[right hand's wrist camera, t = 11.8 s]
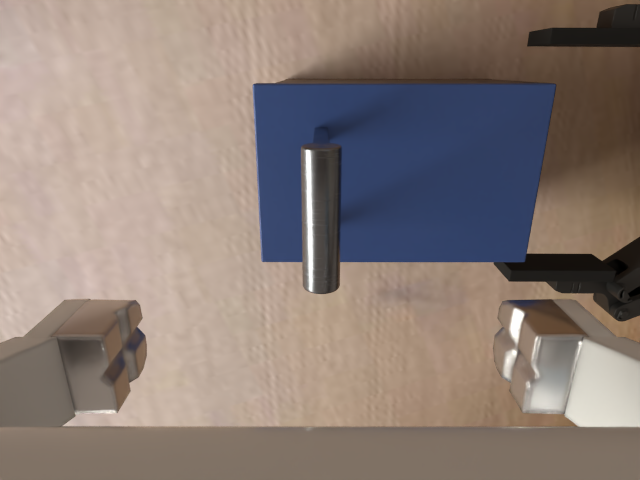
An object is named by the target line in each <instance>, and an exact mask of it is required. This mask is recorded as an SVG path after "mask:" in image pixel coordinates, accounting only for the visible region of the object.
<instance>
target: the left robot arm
mask: <svg viewBox="0 0 640 480" xmlns="http://www.w3.org/2000/svg"><path fill="white" fill-rule="evenodd" d="M527 46H569V47H640V4H638V5H637V4H626V5H621V6H616V7H611V8H608V9H606V10H603V11H601V12H600V13H599V18H598V23H597V28H549V29H543V30H538V31H532V32H529V39H528V45H527ZM494 265H495V266H496V267H497V268H498V269H499V270H500V272H501V273H502V274H503V275H504V276H505V277H506V278H507V279H508V281H536V282H547V283H548V284H549V285H550V286H551V287H552V288H553V289H554V290H556V291H558V292H561V293H594V295H593V300H594V301H595V302H596V303H597V304H598V305H599V306H601V307H602V308H603V309H604V310H605V311H606V312H608V313H609V314H610V315H611V316H612V317H614V318H615V319H616V320H618V321H626V320H629V319H631V318H634V317H636V316H639V315H640V237H639V238H637V239H636V240H634V241H633V242H631V243H630V244H628V245H626V246H625V247H623V248H622V249H620V250H619V251H617V252H616V253H614V254H613V255H611V256H609V257H608V258H606V259H605V260H603V261H601V260H600V259H598V258H597V257H595V256H594V255H592V254H526V259H525V262H494Z"/></svg>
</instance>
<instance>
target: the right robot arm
mask: <svg viewBox="0 0 640 480" xmlns="http://www.w3.org/2000/svg"><path fill="white" fill-rule="evenodd" d="M141 320H142V313H141V308H140V305H139V303H138V302H137V301H136V300H91V299H71V300H64V301H63V302H62V303H61V304H60V305H59V306H57V307H56V308H55V309H54V310H53V311H52V312H51V313H50V314H48V315H47V316H46V317H45V318H44V319H43V320H42V321H41V322H39V323H38V324H37V325H36V326H35V327H34V328H33V329H32V330H30V331H29V332H28V333H27V334H26V335H25V336H24V337H15V338H12V339H10V340H7V341H4V342H2V343H0V480H640V343H638V342H636V341H633V340H630V339H628V338H625V337H616V336H615V335H614V334H613V333H612V332H611V331H610V330H608V329H607V328H606V327H605V326H604V325H603V324H602V323H601V322H600V321H598V320H597V319H596V318H595V317H594V316H593V315H592V314H591V313H589V312H588V311H587V310H586V309H585V308H584V307H583V306H582V305H580V304H579V303H578V302H577V301H576V300H572V299H556V300H552V299H543V300H507V301H502V303H501V305H500V308H499V313H498V320H499V321H500V323H501V324H502V326H503V327H502V328H501V329H500V330H499V332H498V333H497V334H496V335H495V337H494V345H493V353H494V362H495V365H496V368H497V370H498V372H499V374H500V376H501V377H502V378H504V379H505V380H507V381H509V382H510V383H511V385H510V393H511V394H512V396H513V398H514V399H515V401H516V403H517V404H518V406H519V408H520V409H521V411H522V413H544V414H565V415H564V416H565V417H567V418H568V419H569V420H571V421H572V422H573V423H575V424H576V425H578V426H579V427H61V426H63V425H64V424H65V423H67V422H68V421H69V420H71V419H72V418H74V417H75V414H96V413H118V411H119V409H120V408H121V406H122V404H123V403H124V401H125V399H126V398H127V396H128V394H129V393H130V385H129V383H130V382H131V381H133V380H135V379H136V378H138V377H139V376H140V374H141V372H142V370H143V368H144V364H145V360H146V356H147V344H146V337H145V335H144V334H143V333H142V332H141V330H140V329H139V328H138V327H137V326H138V324H139V323H140V321H141Z"/></svg>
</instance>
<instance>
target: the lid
mask: <svg viewBox="0 0 640 480" xmlns="http://www.w3.org/2000/svg"><path fill="white" fill-rule="evenodd" d="M555 90H556V84H551V83H256V84H253V102H254V121H255V141H256V161H257V180H258V200H259V219H260V239H261V259H262V262H303V287H304V288H305V290H307V291H309V292H311V293H316V294H327V293H331V292H334V291H336V290H337V289H338V288H339V286H340V262H525V259H526V253H527V248H528V242H529V236H530V231H531V225H532V219H533V214H534V208H535V202H536V197H537V191H538V186H539V180H540V174H541V169H542V163H543V157H544V152H545V146H546V141H547V135H548V129H549V124H550V118H551V112H552V107H553V101H554V95H555Z"/></svg>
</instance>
